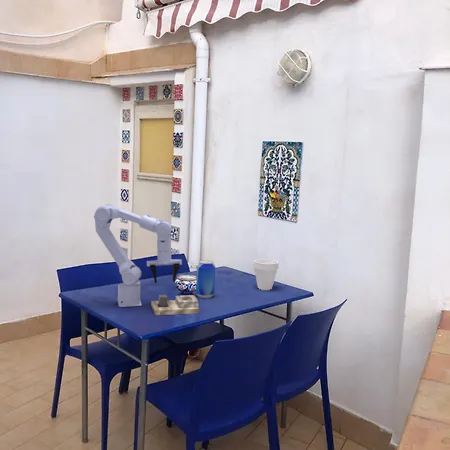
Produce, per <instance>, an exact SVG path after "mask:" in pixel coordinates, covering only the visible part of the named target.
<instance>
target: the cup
mask: <svg viewBox="0 0 450 450" xmlns="http://www.w3.org/2000/svg"><path fill="white" fill-rule="evenodd" d="M279 264H280V263H279V261H278V260H277V259H273V258H256V259H254V260H253V270H254V273H255V275H254V276H255V280H256V284H257V288H259V289H258V290H260V289H261V290H260V291H270V289H271V290H272V289H273V285H274V282H275V279H276V275H277V272H278V269H279Z"/></svg>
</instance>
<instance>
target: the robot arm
mask: <svg viewBox="0 0 450 450" xmlns="http://www.w3.org/2000/svg"><path fill="white" fill-rule="evenodd" d="M93 218H94V223H95V224H94V225H95V226H94V227H95V232H96V234H97V236H98V237H99V239H100V240H101V242H102V243H103V244H104V246H105V248H106V250H107V251H108V252H109V253H110V256H111V257H112V258H113V260H114V261H115V263H116V264H117V266H118V269H119V274H120V275H121V279H122V283H118V285H117V298H116V299H117V305H118V307H120V308H121V307H123V308H124V307H125V308H127V307H142V302H141V281H140V278H141V277H142V271H141V269H140V267H138V266H137V265H136V264H135V263H134V262H133V261H132V260H131V259H129V257H128V256H127V254H126V252H125V251H124V249H123V248H122V246H121V245H120V243H119V242H118V240H117V239H116V237H115V235H114V234H113V233H112V231H111V229H110V226H111V224H112V221H113V220H115V219H119V218H120V219H124V220H127V221H130V222H132V223H135V224H138V226H139V227H140V229H143V230H146V231H149V232H152V233H156V235H157V237H156V238H157V240H156V248H157V249H156V250H157V251H156V252H157V253H156V254H157V259H154V260H147V261H146V267H149V269H150V271H151V273H152V277H153V279H154V283H155V284H158V280H157V279H158V278H157V266H172V282H173V283H175V282H176V277H177V275H178V272H179V269H180V268H181V267H180V265H181V266H182V265H183V260H182V259H181V258H180V259H177V258H176V259H175V258H174V259H172V238H171V237H172V236H171V235H172V234H171V231H172V224H171V223H170V222H169V221H167V220H162V219H161V218H159V219H158V218H155V217H153V216H152V215H151V214H143V215H139V214H137V213H134V212H132V211H129V210H127V209H125V208H122V207H120V206H118V205H113V204H110V203H108V204H105V205H102V206H99V207H97V209H96V210H95V212H94V215H93Z"/></svg>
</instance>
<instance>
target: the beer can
mask: <svg viewBox="0 0 450 450" xmlns="http://www.w3.org/2000/svg"><path fill="white" fill-rule="evenodd" d="M195 281H196V283H195V284H196V289H195V294H196V295H197V297H198V298H203V299H210V298H212V297H214V295H215V291H216V290H215V289H216V288H215V287H216V286H215V285H216V265H215V263H214V261H213V260H210V259H209V260H208V259H205V260H199V262H198V264H197V265H196V280H195Z"/></svg>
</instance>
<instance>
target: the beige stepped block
mask: <svg viewBox="0 0 450 450" xmlns="http://www.w3.org/2000/svg"><path fill="white" fill-rule="evenodd" d="M150 303H151V304H150V306H151V308H152V312H153V314H154V316H167V315H168V316H169V315H171V316H172V315H188V314H189V315H193V314H200V308H199V300H198V298H197V297H196V296H195V295H194V294H191V295H190V294H189V295H187V294H186V295H175V299H174V300H173V299H171V300H168V299H167V307H159V300H151V301H150Z"/></svg>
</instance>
